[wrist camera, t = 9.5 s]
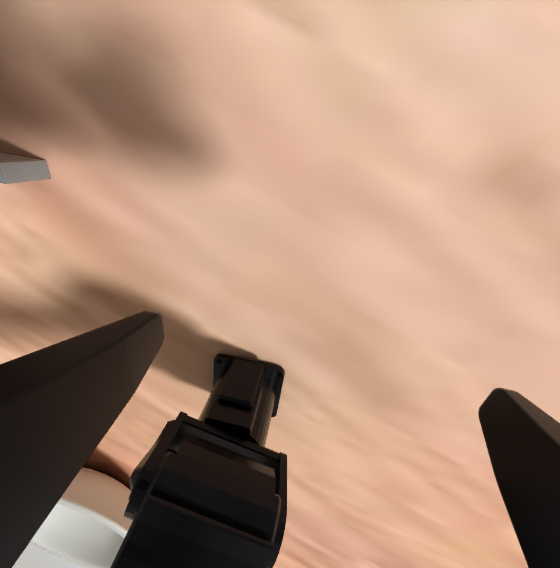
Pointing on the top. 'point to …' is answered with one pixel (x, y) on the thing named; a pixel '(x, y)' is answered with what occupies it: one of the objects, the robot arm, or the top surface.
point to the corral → (22, 169)
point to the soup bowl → (87, 521)
